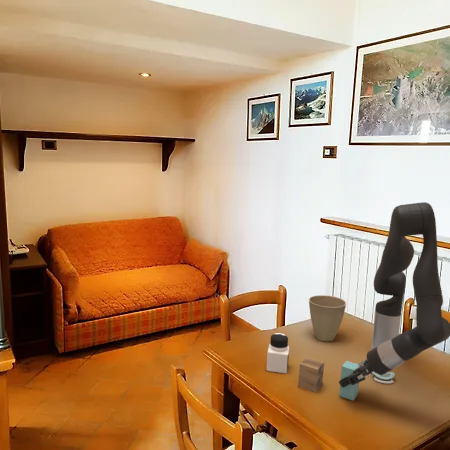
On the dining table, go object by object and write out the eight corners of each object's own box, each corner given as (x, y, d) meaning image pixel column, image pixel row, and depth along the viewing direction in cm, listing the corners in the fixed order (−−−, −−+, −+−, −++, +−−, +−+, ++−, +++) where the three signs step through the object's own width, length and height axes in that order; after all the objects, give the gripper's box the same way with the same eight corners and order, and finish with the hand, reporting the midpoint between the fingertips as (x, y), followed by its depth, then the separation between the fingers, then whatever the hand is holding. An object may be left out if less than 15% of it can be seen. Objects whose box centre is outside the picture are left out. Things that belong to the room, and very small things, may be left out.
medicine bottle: (287, 373, 146) (289, 341, 144) (266, 371, 148) (268, 338, 146) (288, 364, 153) (290, 332, 151) (268, 361, 155) (270, 330, 153)
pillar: (343, 389, 138) (346, 360, 136) (357, 394, 135) (360, 365, 134) (339, 395, 134) (341, 366, 132) (353, 400, 132) (356, 370, 130)
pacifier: (395, 386, 142) (392, 376, 147) (398, 369, 140) (394, 360, 146) (372, 383, 143) (370, 374, 149) (374, 366, 142) (372, 357, 148)
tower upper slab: (306, 368, 143) (307, 356, 142) (323, 373, 140) (324, 362, 139) (299, 375, 138) (299, 363, 137) (316, 381, 135) (317, 369, 134)
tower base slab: (305, 379, 144) (306, 368, 143) (322, 384, 140) (323, 373, 140) (298, 386, 139) (298, 375, 138) (315, 392, 136) (316, 381, 135)
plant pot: (342, 332, 183) (345, 297, 180) (343, 347, 168) (347, 309, 166) (306, 328, 186) (309, 293, 183) (305, 342, 172) (308, 304, 169)
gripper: (384, 337, 133) (343, 362, 142) (372, 354, 122) (328, 380, 130) (400, 358, 131) (357, 382, 140) (389, 377, 120) (343, 402, 128)
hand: (343, 381), depth 135 cm, fingers closed on pillar, 4 cm apart
